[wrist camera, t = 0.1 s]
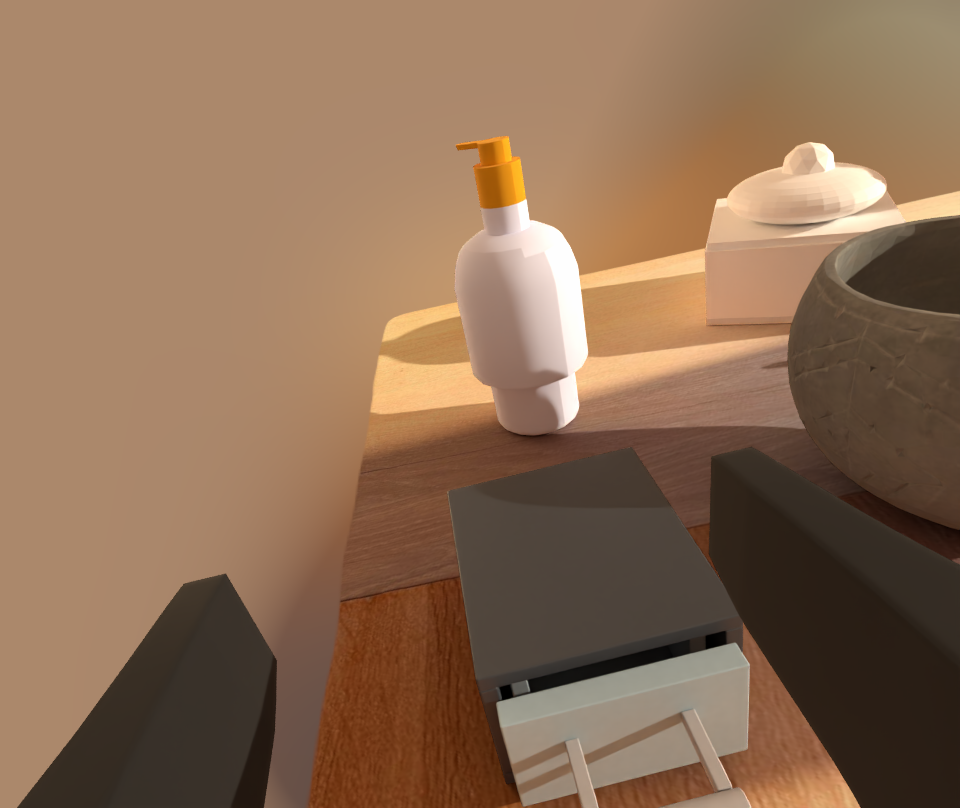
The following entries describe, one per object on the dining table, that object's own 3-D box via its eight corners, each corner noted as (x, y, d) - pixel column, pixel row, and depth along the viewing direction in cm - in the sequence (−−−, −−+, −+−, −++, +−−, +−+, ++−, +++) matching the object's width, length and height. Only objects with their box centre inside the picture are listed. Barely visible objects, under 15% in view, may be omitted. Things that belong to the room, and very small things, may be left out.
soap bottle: (518, 383, 65) (473, 133, 53) (612, 395, 59) (585, 118, 48) (463, 437, 58) (397, 162, 46) (564, 456, 52) (518, 148, 41)
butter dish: (706, 325, 68) (703, 173, 61) (716, 268, 82) (714, 138, 75) (898, 320, 61) (922, 147, 54) (873, 258, 75) (889, 114, 68)
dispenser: (741, 724, 30) (744, 613, 27) (506, 784, 30) (475, 680, 26) (640, 540, 42) (632, 446, 39) (471, 581, 42) (446, 490, 38)
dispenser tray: (810, 865, 24) (821, 778, 21) (546, 935, 24) (523, 855, 21) (646, 560, 39) (639, 486, 36) (483, 600, 39) (464, 528, 36)
